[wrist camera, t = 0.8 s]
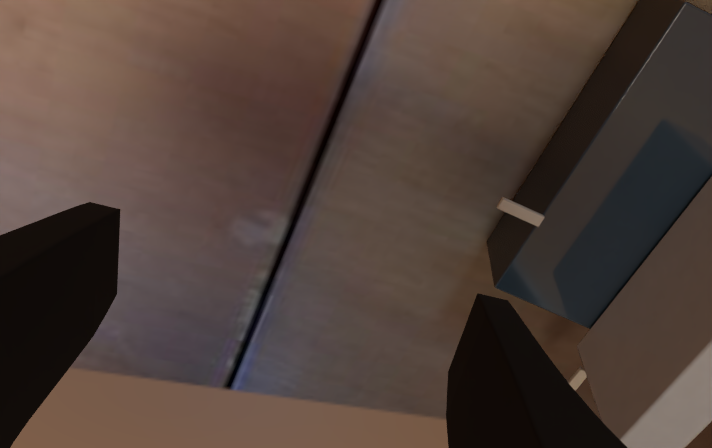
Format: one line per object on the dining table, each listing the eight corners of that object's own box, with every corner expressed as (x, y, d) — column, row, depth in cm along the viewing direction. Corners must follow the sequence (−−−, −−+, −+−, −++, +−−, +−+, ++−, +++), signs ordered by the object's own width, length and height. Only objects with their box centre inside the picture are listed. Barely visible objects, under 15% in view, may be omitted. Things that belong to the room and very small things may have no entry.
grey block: (617, 363, 21) (664, 480, 17) (575, 345, 21) (612, 459, 17) (763, 192, 18) (865, 284, 14) (715, 169, 18) (803, 255, 14)
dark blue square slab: (670, 394, 25) (700, 456, 23) (417, 286, 24) (415, 338, 21) (923, 124, 20) (1006, 163, 17) (607, -36, 18) (640, -22, 16)
